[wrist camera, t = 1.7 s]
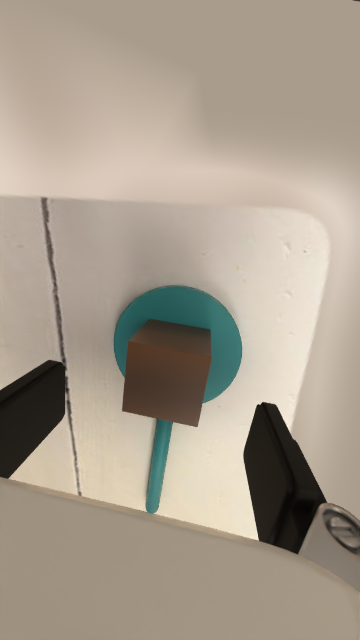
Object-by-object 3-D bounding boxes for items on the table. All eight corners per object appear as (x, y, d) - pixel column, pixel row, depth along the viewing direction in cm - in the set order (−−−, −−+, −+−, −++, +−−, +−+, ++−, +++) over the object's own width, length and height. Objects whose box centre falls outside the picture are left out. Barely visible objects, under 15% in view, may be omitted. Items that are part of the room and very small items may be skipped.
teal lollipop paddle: (121, 275, 15) (114, 277, 14) (254, 297, 14) (258, 301, 13) (107, 491, 21) (101, 504, 20) (200, 514, 20) (199, 529, 19)
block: (149, 318, 15) (127, 341, 11) (211, 329, 14) (212, 357, 10) (143, 372, 16) (121, 411, 12) (200, 384, 16) (197, 427, 12)
